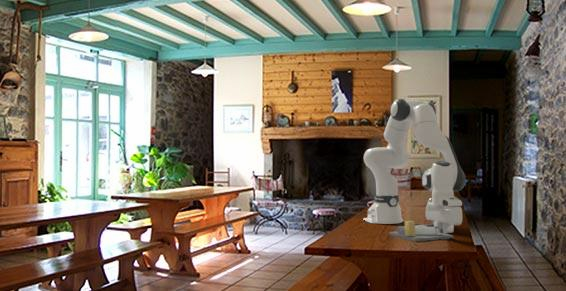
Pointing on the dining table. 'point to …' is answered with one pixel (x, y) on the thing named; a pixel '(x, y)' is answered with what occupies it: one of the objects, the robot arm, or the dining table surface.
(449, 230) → the jar
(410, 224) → the lock tab
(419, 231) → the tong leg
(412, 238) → the slate board
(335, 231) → the dining table surface
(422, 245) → the dining table surface
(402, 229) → the tongs base
